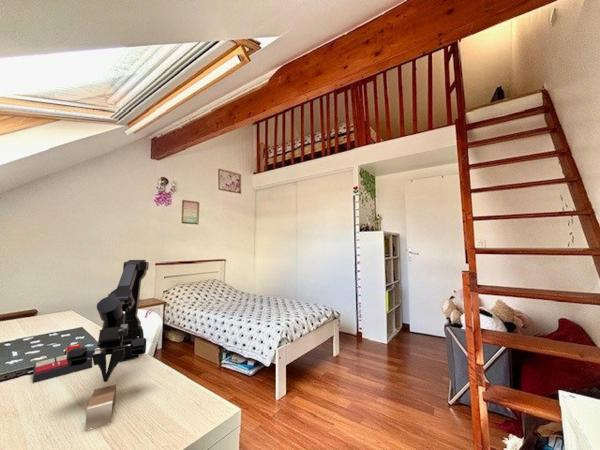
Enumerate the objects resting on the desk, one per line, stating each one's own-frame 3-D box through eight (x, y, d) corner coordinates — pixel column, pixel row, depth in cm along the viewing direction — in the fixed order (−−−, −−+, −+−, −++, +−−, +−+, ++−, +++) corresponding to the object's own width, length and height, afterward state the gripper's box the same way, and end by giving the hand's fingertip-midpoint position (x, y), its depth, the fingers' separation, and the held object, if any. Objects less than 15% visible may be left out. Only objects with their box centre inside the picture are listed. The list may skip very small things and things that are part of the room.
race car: (84, 359, 100) (85, 348, 100) (66, 363, 96) (67, 352, 96) (81, 349, 109) (82, 340, 110) (64, 353, 105) (65, 343, 106)
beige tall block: (94, 389, 70) (86, 409, 61) (116, 384, 72) (112, 402, 64) (92, 408, 69) (85, 430, 61) (115, 402, 72) (110, 423, 64)
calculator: (33, 362, 90) (88, 347, 100) (33, 374, 89) (88, 358, 100) (33, 373, 82) (92, 356, 93) (32, 386, 82) (92, 368, 93)
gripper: (71, 319, 71) (55, 378, 61) (148, 311, 81) (145, 360, 70) (75, 339, 77) (62, 395, 67) (146, 329, 87) (144, 377, 76)
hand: (105, 381), depth 70 cm, fingers closed
